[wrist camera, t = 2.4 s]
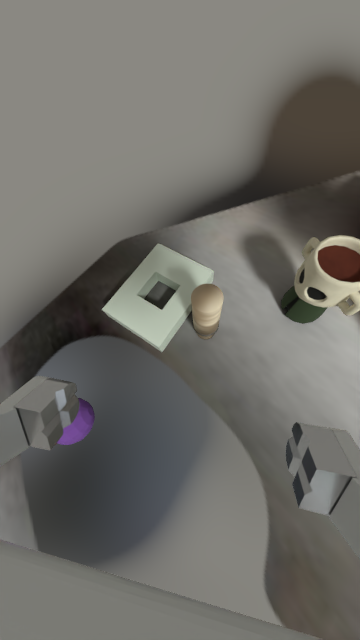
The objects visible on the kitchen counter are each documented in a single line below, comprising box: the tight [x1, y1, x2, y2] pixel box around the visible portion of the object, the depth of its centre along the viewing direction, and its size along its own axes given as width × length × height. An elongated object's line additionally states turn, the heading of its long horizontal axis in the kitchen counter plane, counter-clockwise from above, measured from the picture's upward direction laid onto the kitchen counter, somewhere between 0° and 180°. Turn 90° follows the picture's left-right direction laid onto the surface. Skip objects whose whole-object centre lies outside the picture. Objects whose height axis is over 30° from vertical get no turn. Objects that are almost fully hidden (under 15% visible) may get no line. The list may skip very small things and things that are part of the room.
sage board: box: [102, 243, 214, 352], centre depth 39 cm, size 12×16×3 cm
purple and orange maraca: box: [55, 398, 94, 445], centre depth 31 cm, size 6×6×20 cm
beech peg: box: [191, 284, 223, 339], centre depth 31 cm, size 4×4×12 cm
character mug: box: [281, 235, 360, 323], centre depth 31 cm, size 11×7×13 cm, turn 19°
